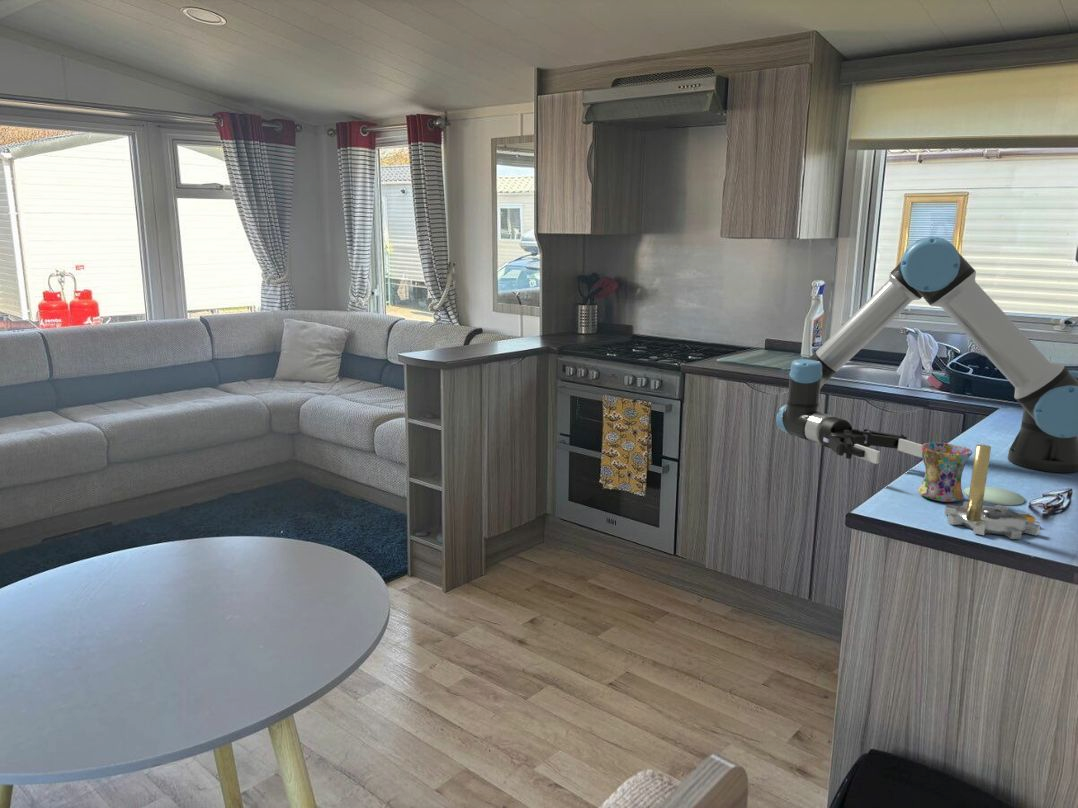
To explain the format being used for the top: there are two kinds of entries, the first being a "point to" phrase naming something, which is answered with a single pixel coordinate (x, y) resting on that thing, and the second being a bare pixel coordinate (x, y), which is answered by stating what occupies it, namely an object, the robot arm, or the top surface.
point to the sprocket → (988, 507)
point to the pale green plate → (1000, 496)
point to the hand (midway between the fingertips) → (901, 454)
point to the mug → (943, 471)
